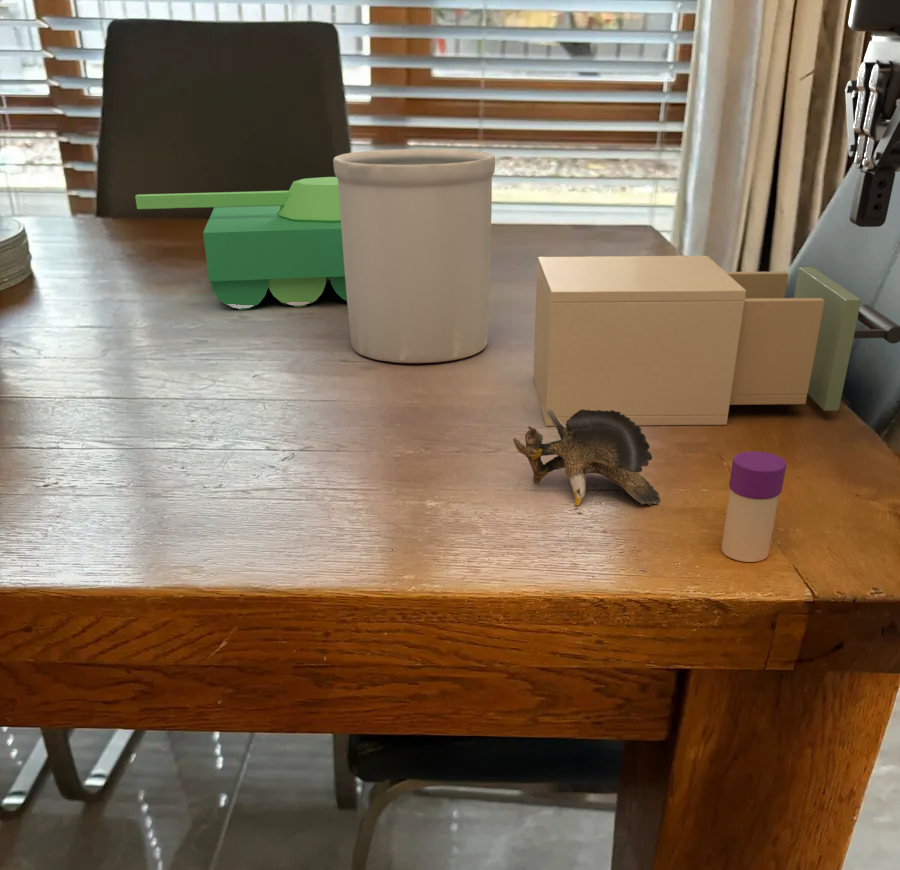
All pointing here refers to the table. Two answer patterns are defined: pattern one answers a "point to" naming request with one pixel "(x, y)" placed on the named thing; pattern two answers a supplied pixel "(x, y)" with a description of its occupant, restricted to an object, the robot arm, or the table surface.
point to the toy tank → (269, 240)
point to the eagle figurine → (594, 452)
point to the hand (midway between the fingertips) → (866, 224)
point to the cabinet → (637, 338)
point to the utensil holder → (416, 251)
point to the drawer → (799, 338)
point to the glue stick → (752, 505)
